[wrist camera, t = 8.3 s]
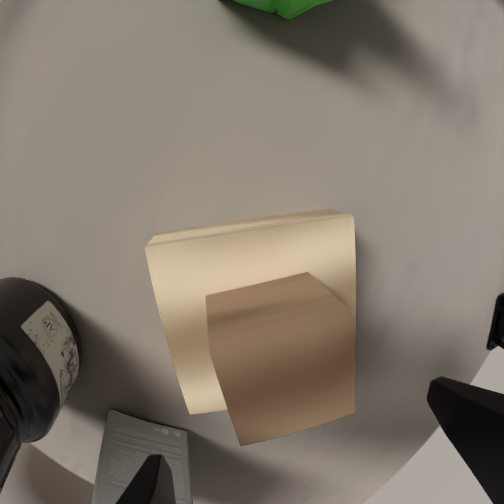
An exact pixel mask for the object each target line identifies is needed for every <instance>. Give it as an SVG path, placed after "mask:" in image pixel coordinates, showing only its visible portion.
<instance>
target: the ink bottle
mask: <svg viewBox="0 0 504 504" xmlns="http://www.w3.org/2000/svg"><path fill="white" fill-rule="evenodd" d="M81 359H82V352H81V343H80V339H79V335H78V332H77V329H76V327H75V324H74V322H73V320H72V319H71V317H70V315H69V314H68V312H67V311H66V310H65V308H64V307H63V306H62V305H61V304H60V302H59V301H58V300H57V299H56V298H54V297H53V296H52V295H51V294H50V293H49V292H47V291H46V290H45V289H43V288H42V287H40V286H38V285H37V284H35V283H33V282H30V281H28V280H25V279H21V278H15V277H9V278H4V279H1V280H0V493H1V491H2V488H3V486H4V483H5V481H6V479H7V477H8V474H9V472H10V470H11V467H12V465H13V463H14V461H15V459H16V456H17V454H18V452H19V450H20V448H21V445H22V443H30V442H35V441H38V440H40V439H42V438H43V437H45V436H46V435H47V434H48V432H49V431H50V429H51V428H52V426H53V424H54V422H55V420H56V418H57V416H58V414H59V412H60V410H61V408H62V406H63V404H64V402H65V400H66V397H67V395H68V393H69V391H70V389H71V387H72V386H73V384H74V382H75V380H76V377H77V375H78V373H79V370H80V366H81Z"/></svg>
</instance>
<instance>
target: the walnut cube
mask: <svg viewBox="0 0 504 504" xmlns="http://www.w3.org/2000/svg"><path fill="white" fill-rule="evenodd" d="M206 312H207V327H208V341H209V353H210V356H211V359H212V362H213V366H214V369H215V372H216V375H217V378H218V381H219V385H220V388H221V391H222V394H223V397H224V400H225V403H226V406H227V409H228V412H229V415H230V417H231V420H232V423H233V426H234V429H235V432H236V434H237V437H238V440H239V443H240V445H241V446H244V445H249V444H253V443H258V442H262V441H266V440H270V439H274V438H278V437H282V436H285V435H289V434H293V433H296V432H300V431H303V430H306V429H309V428H313V427H316V426H319V425H322V424H325V423H328V422H331V421H334V420H337V419H339V418H342V417H345V416H348V415H350V414H353V413H355V390H356V351H355V317H354V313H353V312H351V311H350V310H349V309H348V308H347V307H346V306H345V305H344V304H343V303H342V302H341V301H339V300H338V299H337V298H336V297H335V296H334V295H333V294H332V293H331V292H330V291H328V290H327V289H326V288H325V287H324V286H323V285H322V284H321V283H320V282H318V281H317V280H316V279H315V278H314V277H313V276H312V275H311V274H310V273H308V272H305V273H300V274H296V275H292V276H288V277H284V278H280V279H276V280H271V281H267V282H263V283H259V284H254V285H250V286H246V287H241V288H237V289H233V290H228V291H224V292H219V293H215V294H210V295H206Z"/></svg>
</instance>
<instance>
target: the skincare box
mask: <svg viewBox="0 0 504 504" xmlns="http://www.w3.org/2000/svg"><path fill="white" fill-rule="evenodd" d="M151 454H162V455H163V456H164V458H165V459H166V461H167V463H168V465H169V466H170V468H171V471H172V476H173V484H174V492H175V500H176V504H193V498H192V489H191V477H190V466H189V450H188V433H187V431H184V430H180V429H176V428H172V427H168V426H163V425H159V424H155V423H151V422H147V421H144V420H140V419H137V418H134V417H131V416H128V415H125V414H122V413H119V412H117V411H114V410H110V411H109V412H108V416H107V420H106V425H105V429H104V434H103V440H102V445H101V450H100V456H99V461H98V467H97V473H96V480H95V486H94V493H93V502H92V504H116V502H117V501H118V499H119V498H120V496H121V495H122V493H123V492H124V491H125V489H126V488H127V486H128V485H129V483H130V482H131V480H132V479H133V477H134V476H135V474H136V473H137V472H138V470H139V469H140V467H141V466H142V464H143V463H144V461H145V460H146V458H147V457H148V456H149V455H151Z"/></svg>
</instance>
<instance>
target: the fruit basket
mask: <svg viewBox="0 0 504 504" xmlns="http://www.w3.org/2000/svg"><path fill="white" fill-rule="evenodd" d="M233 1H235V2H237V3H239V4H243V5H246V6H250V7H253V8H256V9H259V10H263V11H266V12H273V13H274V12H277V14H279V15H280V16H282V17H283V18H286V19H293V18H294V17H296V16H298V15H300V14H301V13H303V12H305V11H307V10H309V9H311V8H313V7H314V6H316V5H318V4H324V3H327V2H330V1H332V0H233Z"/></svg>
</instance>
